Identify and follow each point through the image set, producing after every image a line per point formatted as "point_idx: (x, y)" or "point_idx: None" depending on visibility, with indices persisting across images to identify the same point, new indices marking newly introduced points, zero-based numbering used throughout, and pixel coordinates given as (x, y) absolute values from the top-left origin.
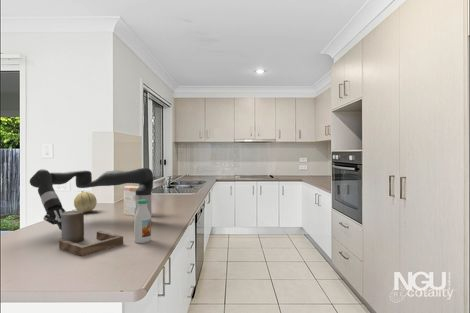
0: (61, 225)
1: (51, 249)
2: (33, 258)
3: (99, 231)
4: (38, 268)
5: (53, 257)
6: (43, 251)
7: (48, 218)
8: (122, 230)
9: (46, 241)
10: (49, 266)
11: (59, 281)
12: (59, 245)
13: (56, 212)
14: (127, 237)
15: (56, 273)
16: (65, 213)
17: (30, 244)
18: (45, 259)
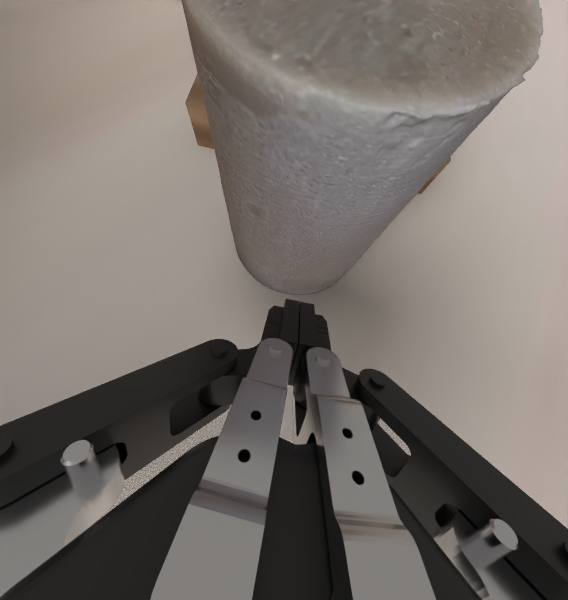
0: (314, 324)
1: (447, 213)
2: (544, 183)
3: (201, 97)
4: (564, 97)
5: (491, 129)
6: (483, 221)
7: (487, 471)
8: (5, 132)
9: (385, 371)
10: (535, 82)
11: (556, 4)
12: (431, 178)
13: (357, 537)
14: (149, 45)
15: (542, 35)
16: (491, 3)
17: (473, 405)
18: (519, 137)
